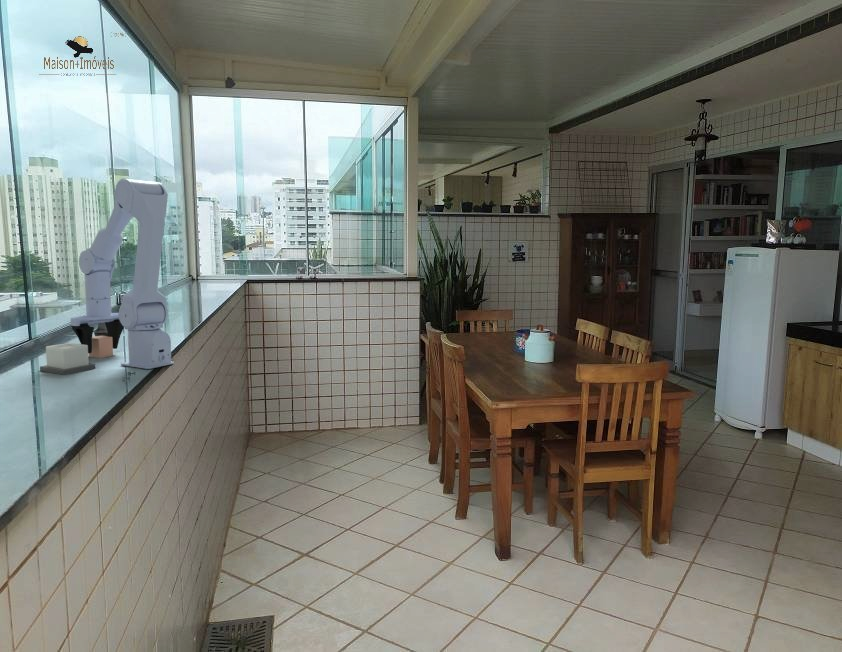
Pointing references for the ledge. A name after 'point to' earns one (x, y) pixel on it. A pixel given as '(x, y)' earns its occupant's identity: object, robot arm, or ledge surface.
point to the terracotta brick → (101, 347)
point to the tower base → (67, 359)
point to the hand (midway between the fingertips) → (100, 350)
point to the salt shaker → (101, 329)
